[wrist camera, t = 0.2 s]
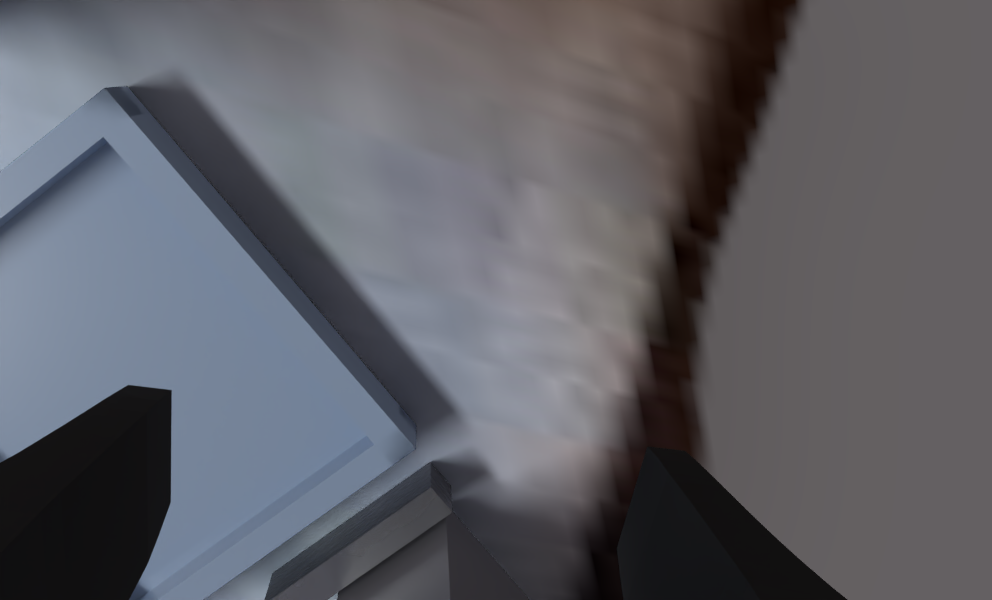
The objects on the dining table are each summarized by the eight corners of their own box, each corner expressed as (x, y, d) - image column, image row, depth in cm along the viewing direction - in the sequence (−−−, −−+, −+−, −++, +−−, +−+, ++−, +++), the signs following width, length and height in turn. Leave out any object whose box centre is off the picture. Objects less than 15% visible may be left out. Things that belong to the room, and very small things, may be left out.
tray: (133, 626, 24) (115, 661, 23) (-185, 336, 21) (-230, 356, 20) (416, 424, 23) (415, 448, 22) (127, 86, 20) (104, 87, 18)
